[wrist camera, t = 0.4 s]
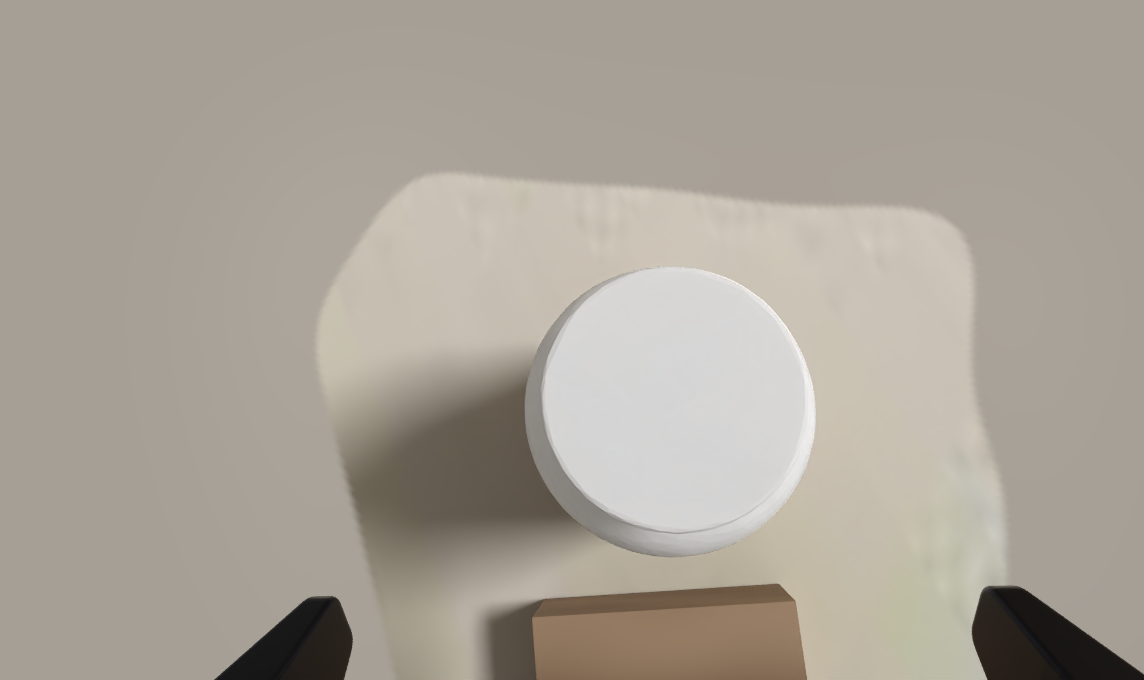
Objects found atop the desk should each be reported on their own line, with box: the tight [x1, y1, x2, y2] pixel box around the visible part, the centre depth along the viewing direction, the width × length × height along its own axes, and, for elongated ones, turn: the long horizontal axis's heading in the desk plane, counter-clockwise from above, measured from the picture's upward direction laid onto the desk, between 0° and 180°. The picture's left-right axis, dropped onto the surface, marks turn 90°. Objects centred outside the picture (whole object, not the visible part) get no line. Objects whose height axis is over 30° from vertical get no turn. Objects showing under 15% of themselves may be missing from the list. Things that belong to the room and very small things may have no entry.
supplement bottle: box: [525, 266, 816, 557], centre depth 17 cm, size 7×7×13 cm
